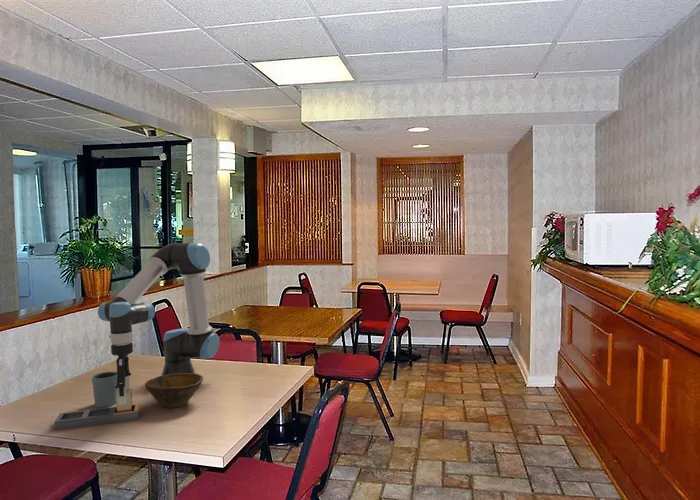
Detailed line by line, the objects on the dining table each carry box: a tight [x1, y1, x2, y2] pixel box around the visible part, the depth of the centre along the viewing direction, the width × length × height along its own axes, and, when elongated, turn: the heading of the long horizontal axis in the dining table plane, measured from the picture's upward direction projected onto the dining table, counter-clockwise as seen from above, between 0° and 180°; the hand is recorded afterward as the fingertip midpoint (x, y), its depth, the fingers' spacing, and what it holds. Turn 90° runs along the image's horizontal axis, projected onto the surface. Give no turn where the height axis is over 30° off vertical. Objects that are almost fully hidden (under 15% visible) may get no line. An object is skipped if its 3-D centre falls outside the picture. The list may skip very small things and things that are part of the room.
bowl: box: [144, 372, 204, 409], centre depth 216 cm, size 22×23×10 cm
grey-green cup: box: [91, 371, 118, 408], centre depth 218 cm, size 10×10×12 cm
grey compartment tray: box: [54, 403, 141, 431], centre depth 199 cm, size 28×9×3 cm, turn 108°
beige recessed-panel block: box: [116, 388, 133, 413], centre depth 202 cm, size 5×5×10 cm
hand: (124, 398), depth 202 cm, fingers open, 13 cm apart
